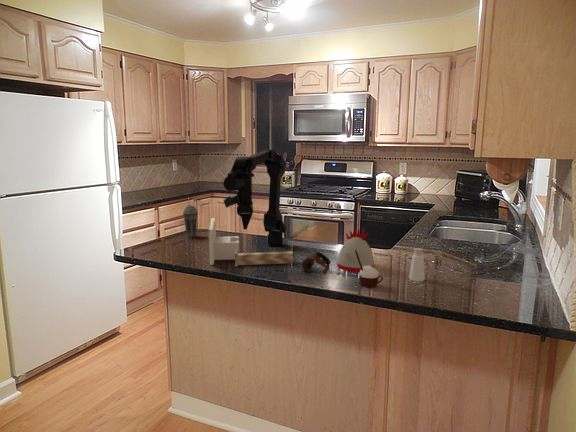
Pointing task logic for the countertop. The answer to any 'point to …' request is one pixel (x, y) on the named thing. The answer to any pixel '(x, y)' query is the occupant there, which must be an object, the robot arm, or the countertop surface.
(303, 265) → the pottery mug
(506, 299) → the countertop surface
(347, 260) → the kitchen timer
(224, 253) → the white angular piece
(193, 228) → the beverage cup
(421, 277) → the pepper shaker
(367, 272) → the cocoa
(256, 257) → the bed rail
